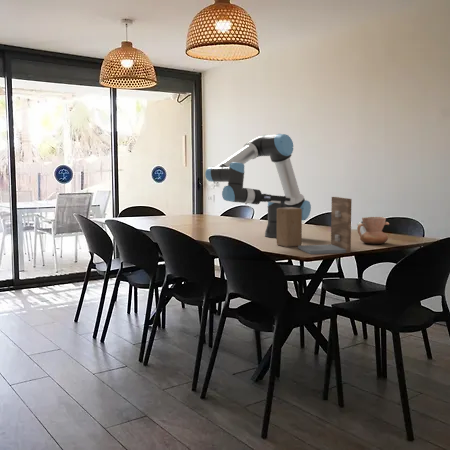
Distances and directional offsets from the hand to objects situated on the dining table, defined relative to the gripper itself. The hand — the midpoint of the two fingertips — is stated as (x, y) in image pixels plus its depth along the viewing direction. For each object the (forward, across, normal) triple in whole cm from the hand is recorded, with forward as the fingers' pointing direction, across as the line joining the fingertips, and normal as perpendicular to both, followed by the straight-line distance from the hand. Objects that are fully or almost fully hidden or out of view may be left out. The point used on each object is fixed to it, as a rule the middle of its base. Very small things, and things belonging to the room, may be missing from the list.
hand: (287, 200), depth 275 cm
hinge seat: (+10, +20, -24) cm, 33 cm away
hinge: (+67, -15, -15) cm, 70 cm away
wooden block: (+5, -2, -24) cm, 24 cm away
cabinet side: (+18, +23, -23) cm, 37 cm away
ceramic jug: (+48, +13, -19) cm, 53 cm away
